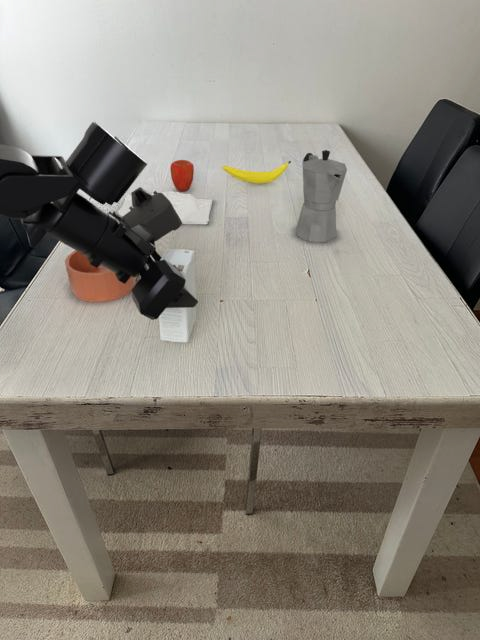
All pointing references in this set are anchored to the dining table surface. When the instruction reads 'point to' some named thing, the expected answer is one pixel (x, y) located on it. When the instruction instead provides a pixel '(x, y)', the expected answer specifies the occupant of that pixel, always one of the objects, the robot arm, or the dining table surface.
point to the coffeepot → (320, 197)
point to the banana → (256, 174)
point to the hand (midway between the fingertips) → (186, 291)
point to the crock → (94, 280)
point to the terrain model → (181, 207)
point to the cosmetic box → (179, 320)
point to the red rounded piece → (182, 174)
